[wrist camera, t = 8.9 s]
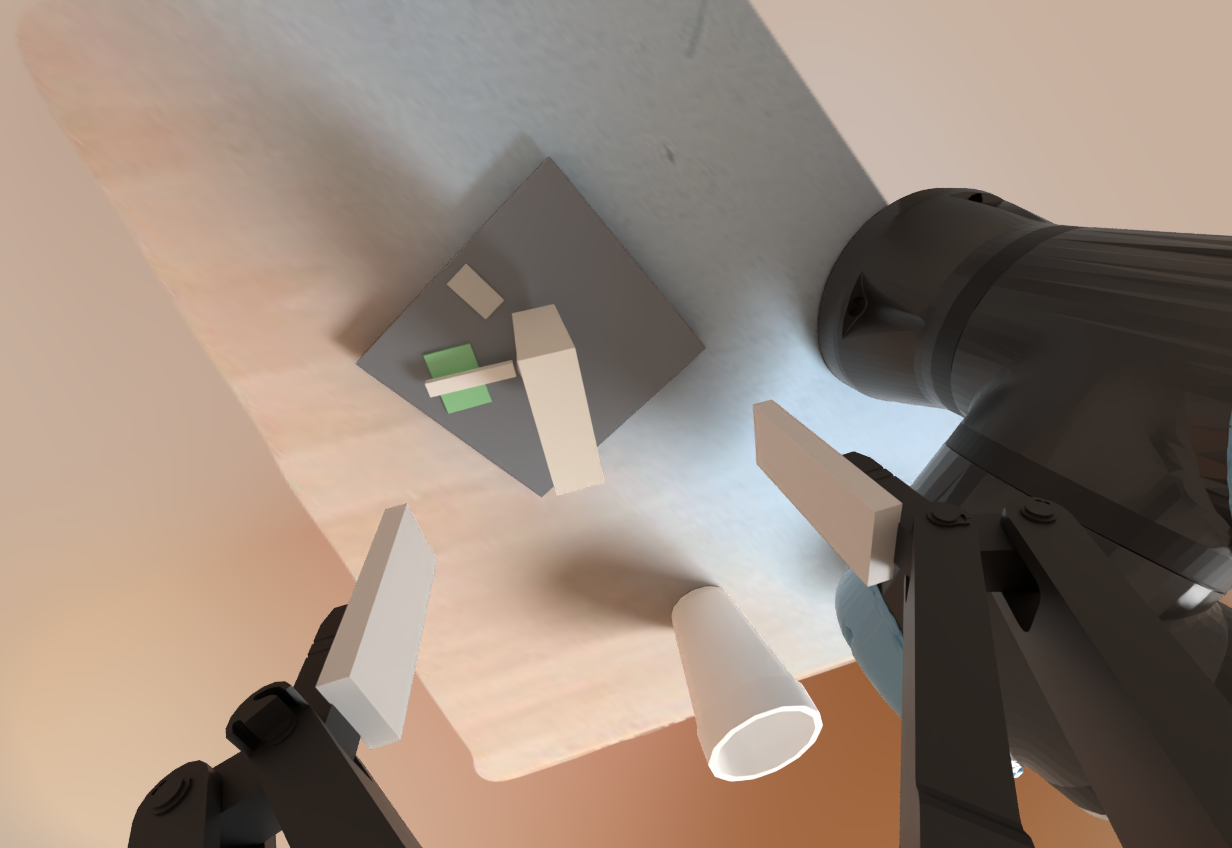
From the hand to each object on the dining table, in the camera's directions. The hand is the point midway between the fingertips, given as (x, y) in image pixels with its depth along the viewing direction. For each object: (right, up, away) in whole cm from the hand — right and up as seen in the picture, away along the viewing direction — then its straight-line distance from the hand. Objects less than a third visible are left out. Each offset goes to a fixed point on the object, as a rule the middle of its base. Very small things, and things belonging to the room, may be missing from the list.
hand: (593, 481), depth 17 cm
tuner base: (-4, +7, +13) cm, 16 cm away
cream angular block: (-6, +6, +12) cm, 14 cm away
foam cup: (+9, -16, +29) cm, 35 cm away
